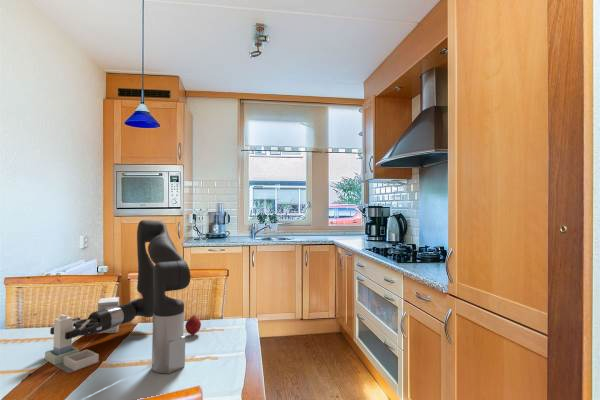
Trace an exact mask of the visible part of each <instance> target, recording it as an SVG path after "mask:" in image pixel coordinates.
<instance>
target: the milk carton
mask: <svg viewBox="0 0 600 400" xmlns="http://www.w3.org/2000/svg"><path fill="white" fill-rule="evenodd" d="M72 319H73V317H72V316H69V315H68V314H62V313H61V314H59V317H57V318H54V320H53V323H54V324H53V325H54V326H53V327H54V334H53V349H52V350H53V354H54V355H56V356H58V355H61V354H64V353H67V352H70V351H71V346H73V345H72V344H73V343H72V342H73V340H72V339H73V338H71V339H68V340H67V339H65V333H66V332H69V331H72Z"/></svg>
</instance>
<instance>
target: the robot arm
mask: <svg viewBox="0 0 600 400" xmlns="http://www.w3.org/2000/svg"><path fill="white" fill-rule="evenodd" d="M137 224H138V225H137V229H136V250H137V251H136V254H137V269H138V270H137V285H136V289H137V293H139V294H141V295H142V297H140V298H136V299H133V300H131V301H129V302H127V303H124V304H121V305H120V304H119V306H117V307H111V308H107V309H103V310H99V311H98V310H96V311H93V312H91V313H90V314H89V316H88V317H87V318H81V317H76V318H72V331H69V332H66V333H65V339H67V340H68V339H71V338H72V339H74V338H76V337H84V338H87V337H90V336H93V335H95V334H97V333H98V334H100V333H99V332H102V331H105V330H108V329H111V328H114V327H116V326H118V325H119V326H122V325H123V324H126V323H130V322H132V321H133V320H134V319H135V317H144V318H152V338H151V339H152V340H151V341H152V344H151V345H152V346H151V351H152V352H151V370H152V372H153V373H157V374H168V375H169V374H171V373H173V372H176V371H177V370H179V369H182V368H184V367H185V364H186V362H185V361H186V336H185V335H184V331H185V330H184V327H185V325H184V324H185V303H184V302H183V301H182V300H181V299H178V298H172V297H169V296H168V295H166V292H172V291H180V290H183V289H186V288H187V287H188V286H189V285H190V283H191V276H192V274H191V271H190V267H189V265H188V263H187V262H186V261H185V259H184V258H183V257H182V256H181V254H180V253H179V252H178V250H177V248H176V246H175V244H174V242H173V241H172V239H171V237H170V236H169V231H168V229H167V225H166V223H165V222H164V221H160V220H146V219H143V220H140V221H139V222H138V223H137ZM146 243H149V244H148V247H147V246H146ZM146 247H147V249H146ZM154 264H155V265H154ZM49 331H50V332H49V334H50V335H53V336H54V326H53V327H51V328H50V329H49Z"/></svg>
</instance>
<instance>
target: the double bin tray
mask: <svg viewBox="0 0 600 400" xmlns="http://www.w3.org/2000/svg"><path fill="white" fill-rule="evenodd" d="M99 355H100V354H99V353H96V352H94V351H92V350H91V349H88V348H87V349H84V350H81V351H80V349H79V348H77V347H75V346H73V345H72V346H71V351H70V352H67V353H64V354H61V355H58V356H56V355H54V354H53V349H50V350H47V351H45V352H44V361H46V362H48V363H50V364H52V365H53V366H54V367H57V368H58V369H60V370H62V371H63V372H65V373H67V374H71V373H74V372H77V371H80V370H83V369H84V368H88V367H90V366H93V365H95V364H98V363H99V357H100V356H99Z"/></svg>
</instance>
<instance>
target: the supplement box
mask: <svg viewBox="0 0 600 400" xmlns="http://www.w3.org/2000/svg"><path fill="white" fill-rule="evenodd" d="M117 306H120V296H114V297H104V298H102V297H101V298H99V299H98V302H97V311H99V310H103V309H107V308H111V307H117ZM119 326H120V325H118V326H116V327H114V328H111V329H108V330H105V331H102V332H99V333H96V334H103V333H104V334H105V333H107V334H116V333H118V332H119Z"/></svg>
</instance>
